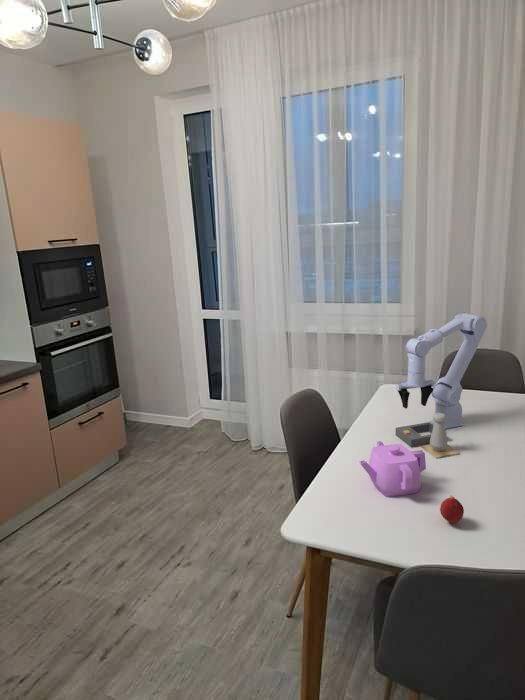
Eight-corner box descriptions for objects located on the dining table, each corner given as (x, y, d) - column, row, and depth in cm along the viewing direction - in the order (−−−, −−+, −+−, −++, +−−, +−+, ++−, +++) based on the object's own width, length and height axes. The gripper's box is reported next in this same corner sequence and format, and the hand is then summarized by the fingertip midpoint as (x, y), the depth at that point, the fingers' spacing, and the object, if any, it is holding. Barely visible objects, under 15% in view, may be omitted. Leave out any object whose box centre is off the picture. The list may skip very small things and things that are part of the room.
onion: (463, 518, 132) (465, 492, 130) (462, 531, 127) (463, 503, 125) (440, 514, 134) (441, 488, 132) (438, 526, 129) (439, 499, 127)
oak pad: (444, 443, 175) (444, 441, 174) (459, 454, 166) (460, 452, 166) (421, 447, 173) (421, 445, 172) (436, 458, 164) (436, 457, 164)
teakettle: (411, 505, 139) (413, 465, 136) (356, 489, 149) (356, 452, 145) (429, 478, 153) (431, 442, 149) (377, 465, 162) (378, 431, 159)
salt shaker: (425, 448, 171) (427, 413, 167) (437, 443, 173) (438, 409, 170) (439, 454, 166) (441, 418, 162) (450, 449, 168) (452, 414, 165)
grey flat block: (428, 429, 186) (429, 420, 185) (446, 441, 176) (446, 432, 175) (395, 435, 183) (395, 426, 182) (411, 447, 173) (411, 438, 172)
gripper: (427, 366, 184) (425, 400, 187) (392, 370, 181) (391, 404, 184) (438, 371, 177) (436, 406, 181) (402, 375, 174) (400, 411, 177)
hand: (414, 406), depth 182 cm, fingers open, 7 cm apart
